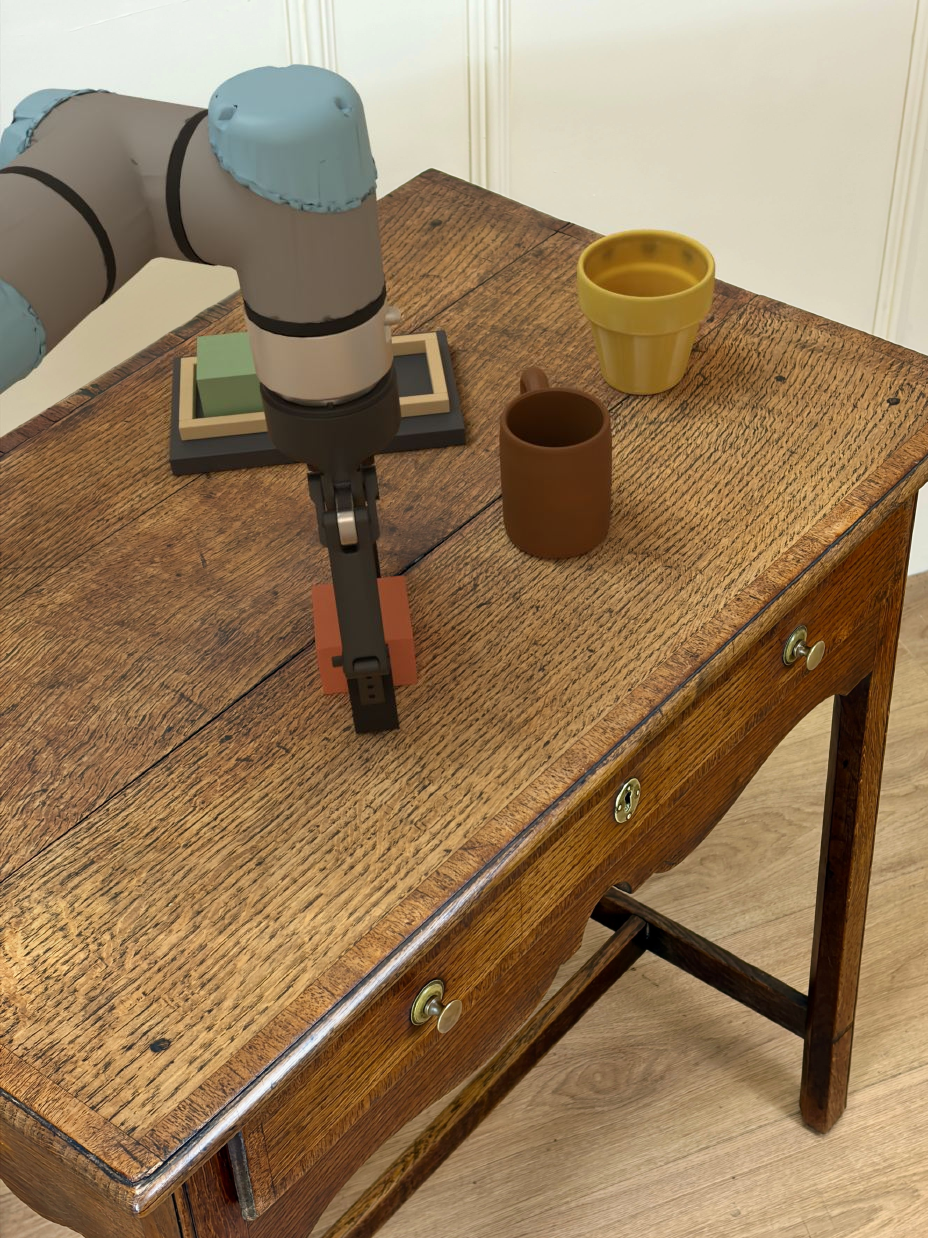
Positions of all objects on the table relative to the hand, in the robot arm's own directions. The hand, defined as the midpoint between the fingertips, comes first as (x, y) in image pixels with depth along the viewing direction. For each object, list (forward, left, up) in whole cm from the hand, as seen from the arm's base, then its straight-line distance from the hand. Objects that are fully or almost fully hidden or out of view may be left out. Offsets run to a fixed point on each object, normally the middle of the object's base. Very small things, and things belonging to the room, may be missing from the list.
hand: (369, 654), depth 96 cm
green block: (-7, +29, +1) cm, 30 cm away
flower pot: (+24, +29, 0) cm, 38 cm away
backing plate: (-2, +29, 0) cm, 29 cm away
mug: (+14, +13, 0) cm, 19 cm away
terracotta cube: (0, 0, 0) cm, 0 cm away
